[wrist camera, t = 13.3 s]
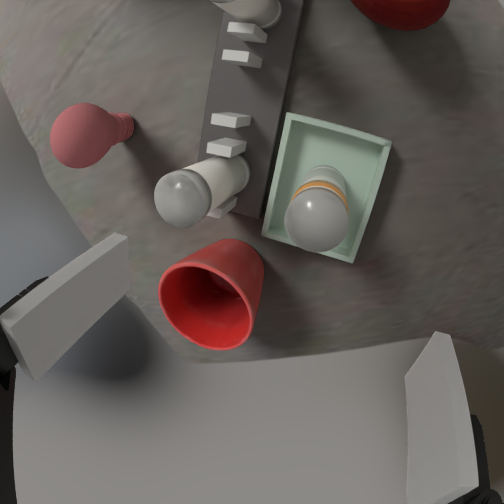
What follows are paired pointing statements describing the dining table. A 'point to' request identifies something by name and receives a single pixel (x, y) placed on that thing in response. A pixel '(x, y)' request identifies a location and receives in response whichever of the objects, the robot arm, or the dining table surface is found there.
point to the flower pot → (214, 294)
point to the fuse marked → (318, 211)
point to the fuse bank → (249, 100)
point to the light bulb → (87, 134)
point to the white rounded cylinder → (253, 11)
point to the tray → (331, 154)
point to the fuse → (200, 189)
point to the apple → (403, 12)
